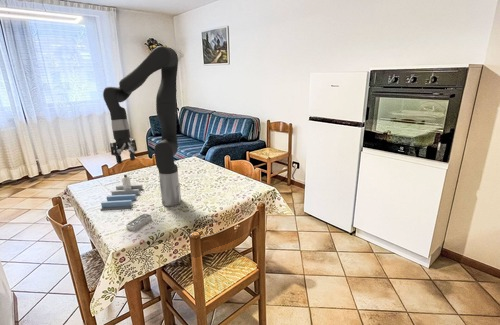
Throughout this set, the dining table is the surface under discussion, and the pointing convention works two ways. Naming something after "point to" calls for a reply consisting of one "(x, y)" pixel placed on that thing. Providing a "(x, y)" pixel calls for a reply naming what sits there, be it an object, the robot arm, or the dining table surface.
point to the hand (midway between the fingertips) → (126, 162)
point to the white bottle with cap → (126, 182)
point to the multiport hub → (138, 222)
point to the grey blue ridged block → (121, 198)
